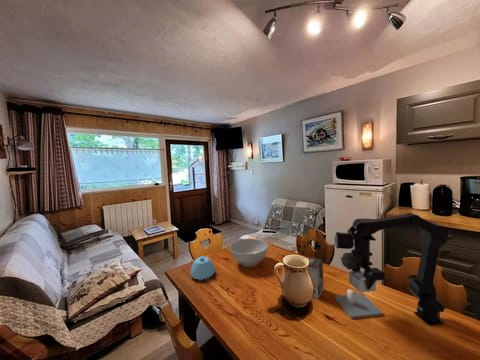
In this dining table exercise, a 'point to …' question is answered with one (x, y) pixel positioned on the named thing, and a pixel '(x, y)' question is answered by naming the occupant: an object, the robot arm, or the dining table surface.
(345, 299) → the duct plate
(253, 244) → the decorative bowl
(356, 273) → the collar
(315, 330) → the dining table surface
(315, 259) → the coffee box
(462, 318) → the dining table surface
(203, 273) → the light blue dome
